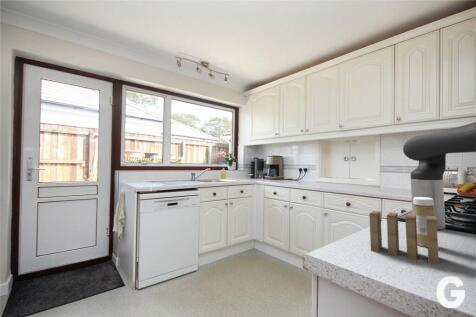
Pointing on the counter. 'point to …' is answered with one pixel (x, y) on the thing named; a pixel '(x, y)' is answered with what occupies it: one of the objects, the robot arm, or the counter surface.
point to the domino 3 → (432, 239)
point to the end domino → (375, 231)
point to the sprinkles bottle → (422, 218)
